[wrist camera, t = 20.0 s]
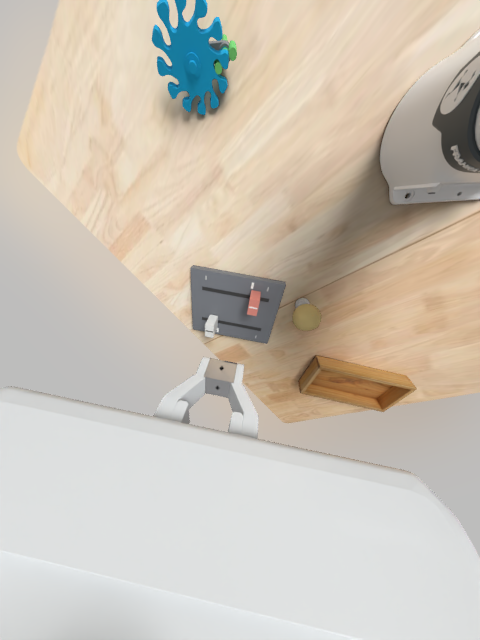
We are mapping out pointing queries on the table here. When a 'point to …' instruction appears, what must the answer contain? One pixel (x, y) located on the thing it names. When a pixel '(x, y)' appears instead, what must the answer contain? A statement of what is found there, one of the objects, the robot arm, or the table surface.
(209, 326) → the grey fader
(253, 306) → the red fader
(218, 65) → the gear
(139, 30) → the table surface
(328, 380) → the tray
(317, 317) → the light bulb
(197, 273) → the console
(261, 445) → the robot arm
